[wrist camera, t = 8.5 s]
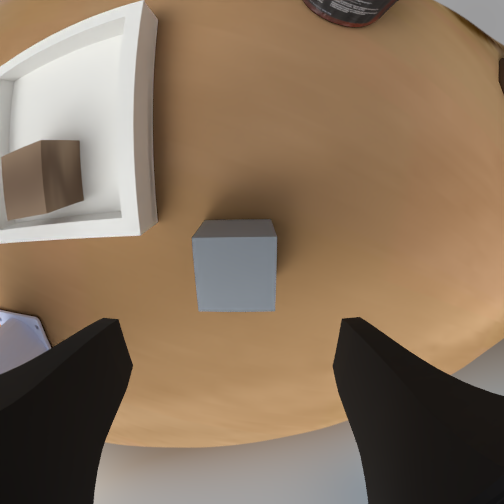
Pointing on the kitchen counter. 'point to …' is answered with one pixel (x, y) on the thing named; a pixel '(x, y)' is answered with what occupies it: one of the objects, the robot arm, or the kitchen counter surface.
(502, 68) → the beer bottle
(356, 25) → the supplement bottle
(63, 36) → the tray
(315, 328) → the kitchen counter surface
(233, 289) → the slate block
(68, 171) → the walnut block
